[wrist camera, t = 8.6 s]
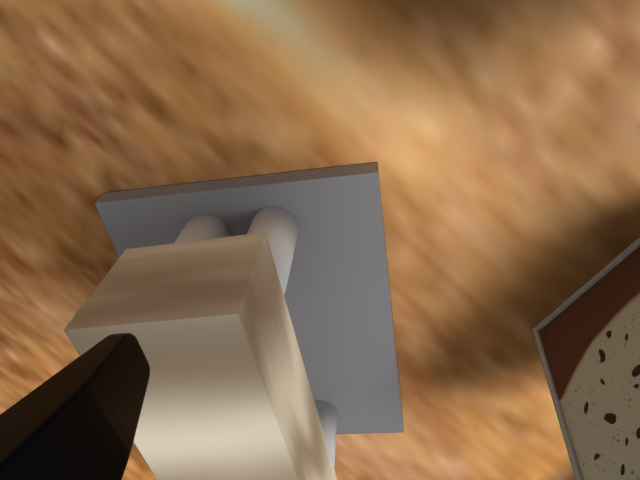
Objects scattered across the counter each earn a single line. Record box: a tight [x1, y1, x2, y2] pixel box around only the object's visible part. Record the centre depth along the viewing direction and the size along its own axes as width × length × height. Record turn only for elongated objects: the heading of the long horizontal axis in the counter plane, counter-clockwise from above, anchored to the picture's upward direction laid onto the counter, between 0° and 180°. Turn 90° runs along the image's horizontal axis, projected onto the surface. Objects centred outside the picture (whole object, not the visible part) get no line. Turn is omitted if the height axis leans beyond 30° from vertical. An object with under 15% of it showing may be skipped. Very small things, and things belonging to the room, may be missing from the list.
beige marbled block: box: [64, 232, 337, 480], centre depth 18 cm, size 16×5×4 cm, turn 11°
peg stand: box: [94, 162, 404, 467], centre depth 22 cm, size 12×16×5 cm
